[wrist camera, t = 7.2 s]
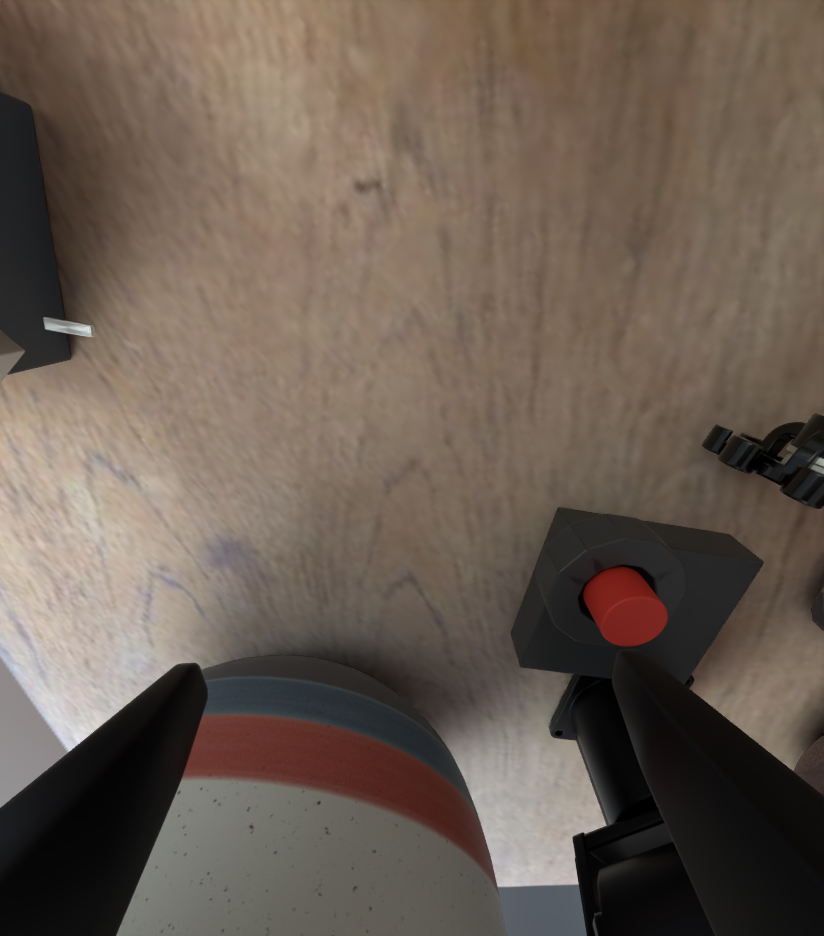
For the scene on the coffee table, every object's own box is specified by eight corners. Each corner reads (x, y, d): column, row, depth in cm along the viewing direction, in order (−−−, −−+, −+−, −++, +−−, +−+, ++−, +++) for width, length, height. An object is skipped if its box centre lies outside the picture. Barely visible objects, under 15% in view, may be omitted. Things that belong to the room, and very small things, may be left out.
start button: (629, 616, 17) (651, 650, 16) (574, 608, 17) (591, 643, 15) (653, 570, 16) (680, 602, 15) (595, 561, 16) (615, 593, 14)
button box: (659, 652, 23) (705, 723, 19) (491, 630, 22) (506, 699, 19) (741, 513, 19) (819, 567, 16) (543, 480, 19) (575, 530, 15)
